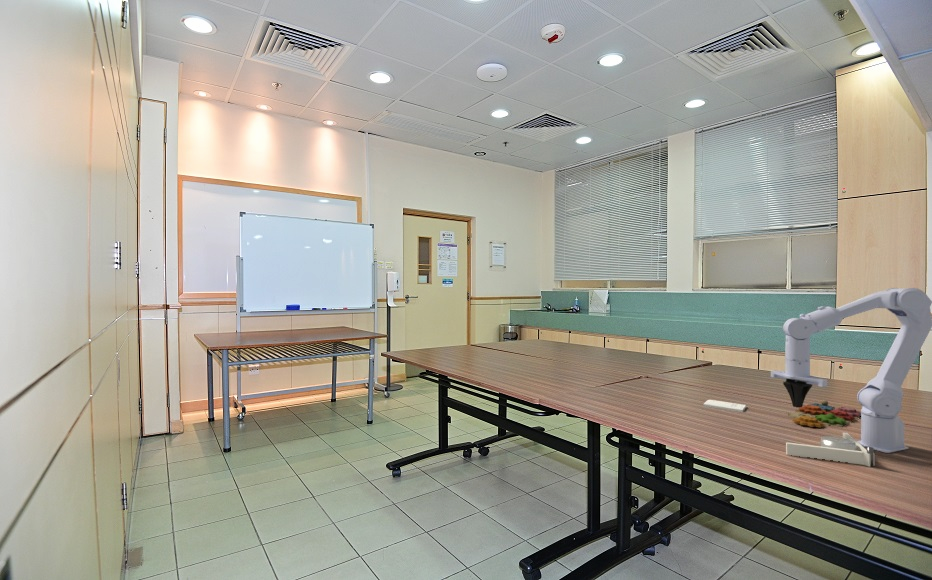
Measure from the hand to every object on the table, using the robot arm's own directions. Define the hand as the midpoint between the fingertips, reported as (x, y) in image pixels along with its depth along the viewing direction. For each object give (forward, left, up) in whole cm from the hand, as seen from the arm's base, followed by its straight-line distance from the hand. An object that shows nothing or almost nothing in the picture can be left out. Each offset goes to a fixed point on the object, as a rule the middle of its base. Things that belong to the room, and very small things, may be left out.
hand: (797, 406), depth 128 cm
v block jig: (+3, +14, -9) cm, 17 cm away
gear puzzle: (-28, -12, -10) cm, 32 cm away
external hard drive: (-11, -33, -10) cm, 37 cm away
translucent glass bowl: (+3, +12, -10) cm, 16 cm away
